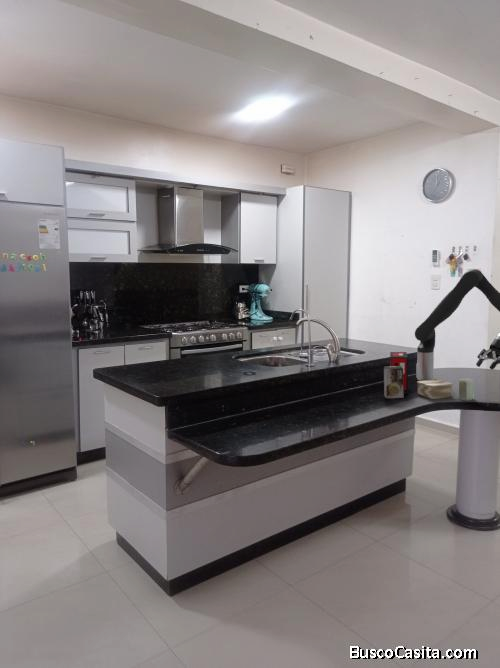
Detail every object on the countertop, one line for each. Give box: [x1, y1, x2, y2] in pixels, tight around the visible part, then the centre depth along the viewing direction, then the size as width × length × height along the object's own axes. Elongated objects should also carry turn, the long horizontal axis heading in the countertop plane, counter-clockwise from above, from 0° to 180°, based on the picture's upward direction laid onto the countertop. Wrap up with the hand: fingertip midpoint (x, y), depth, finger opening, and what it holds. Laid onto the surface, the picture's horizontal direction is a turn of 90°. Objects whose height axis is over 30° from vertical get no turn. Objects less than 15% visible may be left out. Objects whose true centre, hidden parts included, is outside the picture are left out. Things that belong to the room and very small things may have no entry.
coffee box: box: [383, 365, 405, 399], centre depth 256 cm, size 9×6×16 cm
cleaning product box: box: [389, 351, 409, 394], centre depth 270 cm, size 16×9×20 cm, turn 164°
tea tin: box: [458, 377, 475, 402], centre depth 246 cm, size 5×5×10 cm
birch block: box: [416, 378, 453, 400], centre depth 256 cm, size 13×13×7 cm
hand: (484, 367), depth 249 cm, fingers open, 8 cm apart
